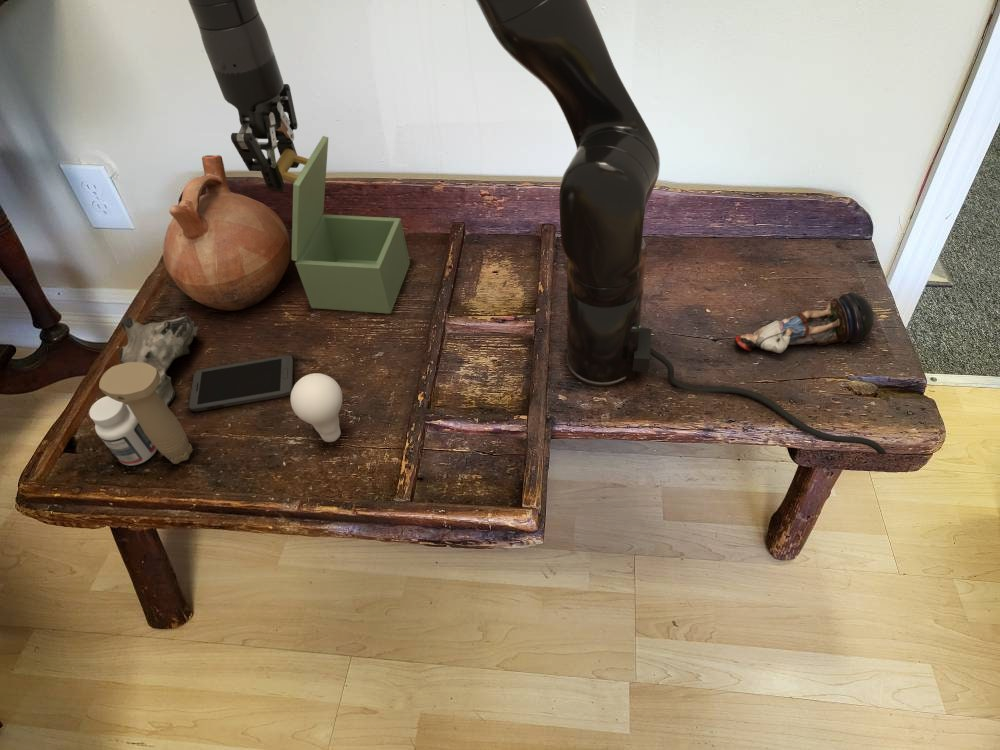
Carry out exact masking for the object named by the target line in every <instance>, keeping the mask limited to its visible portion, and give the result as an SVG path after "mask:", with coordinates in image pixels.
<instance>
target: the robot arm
mask: <svg viewBox="0 0 1000 750" xmlns="http://www.w3.org/2000/svg"><path fill="white" fill-rule="evenodd" d="M475 1H476V4H477V6H478V7H479V9H480V11H481V13H482V16H483V17H484V19H485V21H486V23H487V25H488V27H489V29H490V31H491V33H492V34H493V36H494V37H495V39H496V41H497V42H498V43H499V45H500V46H501V47H502V48H503V49H504V51H505V52H506V53H507V54H508V55H509V56H510V57H511V58H512V59H513V60H514V61H515V62H517V64H519V65H520V66H521V67H523V68H524V69H525V70H526V71H527V72H529V74H531V75H532V76H533V77H534V78H536V79H537V80H538V81H539V82H540V83H541V84H542V85H543V86H544V87H545V88H546V89H547V90H548V91H549V93H551V95H552V97H553V98H554V99H555V101H556V103H557V105H558V107H559V108H560V110H561V111H562V114H563V117H564V118H565V120H566V122H567V125H568V127H569V129H570V132H571V134H572V137H573V140H574V143H575V146H576V152H575V154H574V155H573V157H572V159H571V160H570V162H569V164H568V166H567V167H566V169H565V171H564V173H563V175H562V178H561V181H560V186H559V196H558V197H559V199H558V201H559V203H558V205H559V226H560V241H561V242H560V243H561V249H562V251H563V254H564V256H565V257H566V326H567V327H566V329H567V331H566V336H567V337H566V338H567V339H566V341H567V342H566V343H567V345H566V346H567V347H566V365H567V368H568V370H569V372H570V373H571V374H572V375H573V377H574V378H576V379H577V380H578V381H579V382H581V383H584V384H587V385H589V386H593V387H612V386H615V385H619V384H621V383H623V382H625V381H634V380H635V379H636V372H642V373H649V369H650V360H651V356H652V357H653V358H655V359H656V360H658V361H659V362H661V363H662V365H664V366H665V367H666V369H667V378H668V381H669V383H670V384H671V385H673V386H674V387H675V388H677V389H679V390H683V391H691V392H694V391H695V392H703V393H704V392H705V393H714V394H717V393H718V394H732V395H733V394H736V395H739V396H745V397H748V398H750V399H753V400H756V401H758V402H760V403H762V404H764V405H765V406H767V407H769V408H770V409H772V410H773V411H775V412H776V413H777V414H779V415H780V416H781V417H783V418H784V419H785V420H787V422H789V423H791V424H792V425H794V427H797V428H798V429H800V430H801V431H803V432H805V433H807V434H809V435H810V436H814V437H816V438H818V439H821V440H824V441H828V442H833V443H841V444H843V443H845V444H856V445H864V446H867V447H869V448H872V449H873V450H875V451H876V452H877V454H880V455H883V456H884V455H886V454H887V451H886V450H885V448H884V447H882V446H881V444H879V443H878V442H876V441H874V440H873V439H869V438H866V437H861V436H851V435H850V436H848V435H836V434H830V433H826V432H823V431H822V430H821V431H820V430H818V429H816V428H813V427H811V426H810V425H808V424H806V423H805V422H802V420H799V419H798V418H796V417H795V416H794V415H793V414H791V413H790V412H788V411H787V410H785V408H783V407H781V406H780V405H778V404H777V403H775V402H774V401H773V400H771V399H769V398H767V397H765V396H764V395H761V394H760V393H757V392H754V391H753V390H749V389H746V388H741V387H733V386H712V387H711V386H710V387H701V386H691V385H687V384H684V383H682V382H680V381H679V380H678V379H676V378H675V369H674V366H673V364H672V362H670V360H669V359H668V357H665V356H664V355H663V354H662V353H660V352H658V351H657V350H655V349H654V348H653V347H651V345H652V328H646V327H641V318H642V317H641V316H642V306H643V305H642V302H643V293H644V284H645V283H644V282H645V275H646V274H645V272H646V265H647V256H648V250H647V249H648V248H647V244H646V241H645V239H644V236H643V235H644V234H643V233H644V224H645V223H644V222H645V213H646V209H647V208H646V207H647V204H648V202H649V200H650V198H651V195H652V193H653V190H654V189H655V186H656V183H657V181H658V178H659V176H660V170H661V169H660V168H661V158H660V152H659V148H658V146H657V143H656V141H655V139H654V136H653V135H652V133H651V132H650V129H649V127H648V126H647V124H646V122H645V120H644V119H643V117H642V115H641V113H640V112H639V109H638V108H637V106H636V104H635V103H634V101H633V98H632V97H631V96H630V93H629V92H628V90H627V88H626V86H625V85H624V82H623V81H622V79H621V77H620V75H619V73H618V71H617V69H616V67H615V64H614V61H613V59H612V57H611V55H610V52H609V50H608V47H607V44H606V42H605V40H604V38H603V35H602V33H601V30H600V28H599V25H598V23H597V21H596V19H595V17H594V14H593V11H592V9H591V7H590V4H589V1H588V0H475ZM188 3H189V6H190V9H191V11H192V13H193V16H194V19H195V21H196V24H197V27H198V29H199V34H200V37H201V42H202V45H203V48H204V50H205V53H206V55H207V58H208V60H209V63H210V66H211V69H212V71H213V73H214V76H215V79H216V81H217V83H218V86H219V89H220V91H221V94H222V96H223V99H224V100H225V101H226V102H227V103H228V104H230V105H232V106H233V107H234V108H236V110H237V112H238V116H239V117H238V119H239V124H240V129H239V131H238V132H231V134H230V140H231V143H232V145H233V146H234V148H235V149H236V150H237V152H238V154H239V156H240V158H241V159H242V162H243V163H244V164H245V166H246V168H247V170H248V171H249V172H261V176H262V178H263V180H264V183H265V186H266V188H267V189H268V191H270V192H279V193H280V192H283V191H284V189H285V188H286V185H285V183H284V178H283V179H282V176H281V174H280V171H279V168H278V165H276V162H277V159H276V153H275V150H276V148H277V151H278V154H279V157H280V156H281V155H282V153H283V152H284V150H285V149H291V150H293V151H294V152H295V153H296V155H297V156H298V153H297V150H296V146H295V144H294V140H295V133H294V131H297V130H298V126H299V125H298V120H297V116H296V115H297V114H296V111H295V106H294V100H293V96H292V92H291V87H290V85H289V84H288V83H284V80H283V76H282V72H281V71H280V67H279V65H278V61H277V58H276V54H275V52H274V48H273V46H272V42H271V40H270V36H269V33H268V30H267V28H266V25H265V23H264V21H263V18H262V17H261V14H260V12H259V10H258V6H257V3H256V0H188ZM286 113H287V114H286ZM259 140H267V141H266V142H265V141H259ZM263 151H266V156H265V154H264V152H263ZM300 165H301V164H300V163H297V162H293V164H292V165H291V167H290V169H297V168H299V166H300Z"/></svg>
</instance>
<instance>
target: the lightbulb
mask: <svg viewBox="0 0 1000 750" xmlns="http://www.w3.org/2000/svg"><path fill="white" fill-rule="evenodd" d="M338 383H339V382H337V381H336V380H335V379H334V378H333V377H331V376H329V375H327V374H324V373H320V372H319V373H318V372H317V373H314V372H313V373H309V374H306V375H303V376H302V377H300V379H298V380H297V382H295V384H293V389H292V392H291V394H290V400H289V401H290V406H291V408H292V411H293V412H294V414H295V415H296V416H297V418H298V419H300V420H301V421H303V422H306V423H307V424H310V425H311V426H313V428H314V429H315V431H316V432H317V433H318V434H319V436H320V437H321V439H322V441H324V442H325V443H332V442H336V441H337V440H338V439H339V438H340V437H341V434H342V432H341V427H340V418H339V413H340V411H341V408H342V406H343V391H342V389H341V387H340V384H338Z"/></svg>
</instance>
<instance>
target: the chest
mask: <svg viewBox="0 0 1000 750" xmlns="http://www.w3.org/2000/svg"><path fill="white" fill-rule="evenodd" d="M404 232H405V231H404V227H403V223H402V218H400V217H386V216H385V217H384V216H381V217H380V216H361V215H344V214H343V215H341V214H324V213H323V214H322V216H321V218H320V220H319V222H318V223H317V225H316V227H315V229H314V231H313V233H312V234H311V236H310V238H309V240H308V242H307V244H306V245H305V247H304V249H303V251H302V253H301V255H300V256H299V258H298V260H297V261H295V262H294V264H295V267H296V270H297V272H298V275H299V279H300V281H301V283H302V286H303V289H304V292H305V294H306V297H307V301H308V303H309V305H310V308H311V309H317V310H318V309H319V310H320V309H321V310H332V311H347V312H361V313H362V312H363V313H374V314H392V311H393V309H394V306H395V303H396V301H397V299H398V296H399V293H400V291H401V289H402V285H403V283H404V280H405V278H406V275H407V273H408V270H409V268H410V265H411V261H410V257H409V252H408V247H407V242H406V237H405V233H404Z"/></svg>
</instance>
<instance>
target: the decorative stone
mask: <svg viewBox="0 0 1000 750" xmlns="http://www.w3.org/2000/svg"><path fill="white" fill-rule="evenodd" d="M120 325H121V327H122V329H123V331H124V333H125V335H126V336H127V344H126V345H123V346H121V347H120V349H119V352H118V355H119V356H120V361H121V364H123V363H127V362H142V363H147V364H149V365H151V366H153V367H154V368H156V369H157V371H158V372H159V374H160V383H159V385H158V387H157V388H156V390H155V391H156V392H157V394H158V395H159V396H160V398H161V399H162V400H163V402H164V403H165V404H166V405H167V407H168V408H169V407H170V404H171V403H172V402H173V400H174V399H175V396H176V393H175V389H174V387H173V385H172V384H173V383H172V377H171V376H168V375H167V371H168V369H169V368H170V366H171V365H172V363H173V362H174V361H175V360H176V359H178V358H180V357H183V356H185V355H190V353H191V349H190V345H191V344H192V343H193V341H194V338H195V337H197V333H198V331H199V329H200V326H198V325H197V324H196V323H195V321H193V320H192V318H191V317H190V316H189V315H188V313H187V312H182V313H180V316H179V318H178V317H177V318H174V319H165V320H164V321H160V322H159V321H158V322H149V323H146V324H142V323H140V322H139V321H137V320H135V319H134V318H133V317H131V316H126V317H124V318H122V319H121V320H120Z"/></svg>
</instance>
